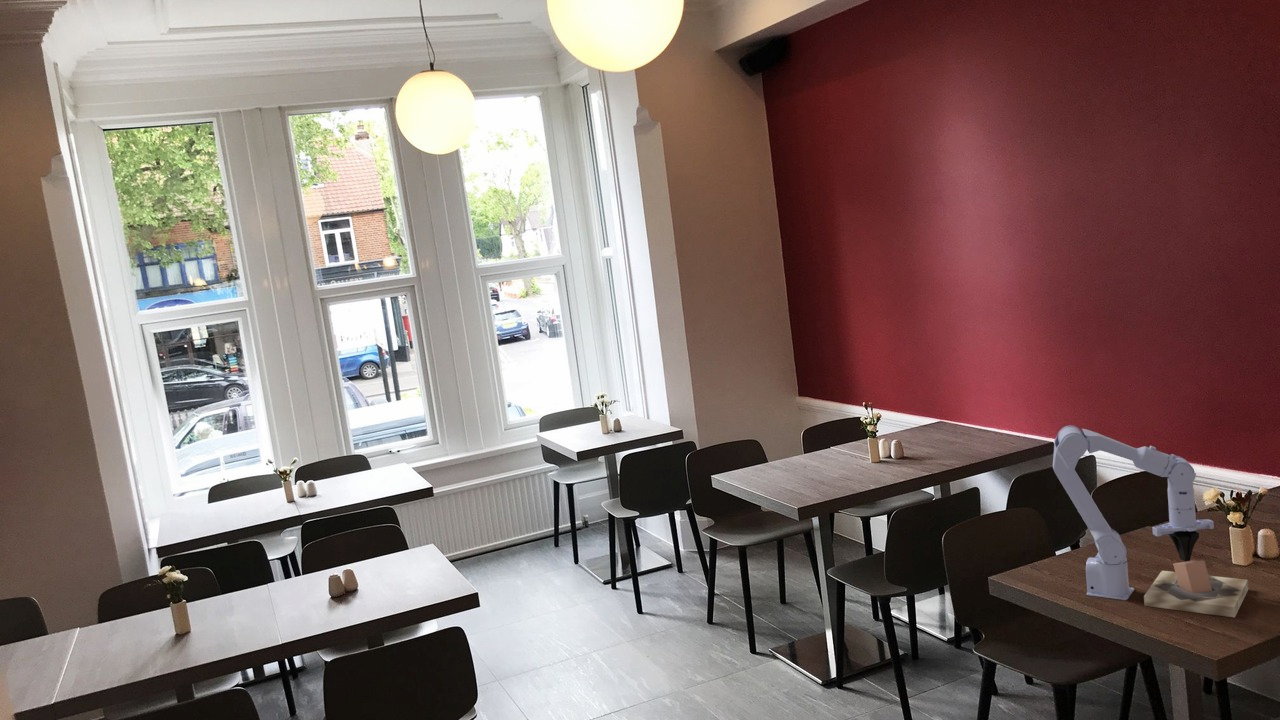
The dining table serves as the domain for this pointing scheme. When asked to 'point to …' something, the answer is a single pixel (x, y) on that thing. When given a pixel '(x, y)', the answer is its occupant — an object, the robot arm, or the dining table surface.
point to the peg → (1192, 576)
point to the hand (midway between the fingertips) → (1185, 559)
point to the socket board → (1197, 595)
